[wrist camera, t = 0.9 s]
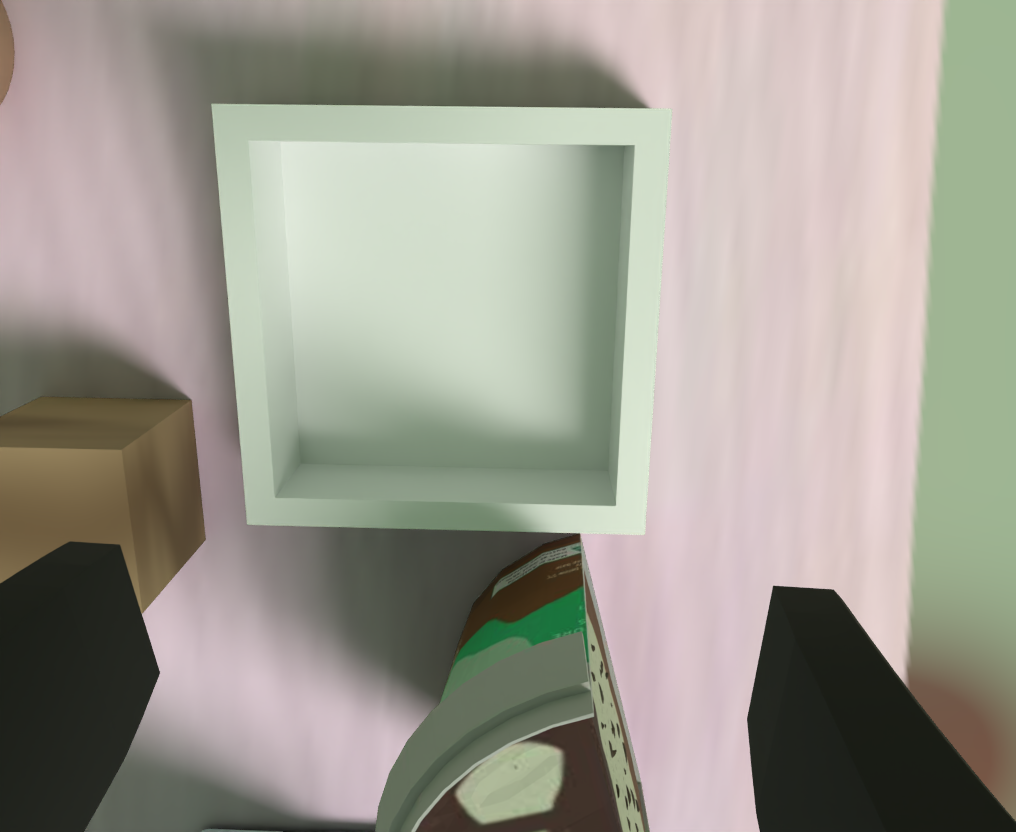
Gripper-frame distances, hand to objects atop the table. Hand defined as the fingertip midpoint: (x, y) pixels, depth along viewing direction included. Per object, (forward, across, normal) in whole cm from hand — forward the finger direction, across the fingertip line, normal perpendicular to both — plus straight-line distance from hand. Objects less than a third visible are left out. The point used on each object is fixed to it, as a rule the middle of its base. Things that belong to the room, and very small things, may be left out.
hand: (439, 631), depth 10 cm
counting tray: (+15, +2, +3) cm, 15 cm away
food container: (+12, 0, +15) cm, 19 cm away
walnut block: (+13, +12, +8) cm, 20 cm away
